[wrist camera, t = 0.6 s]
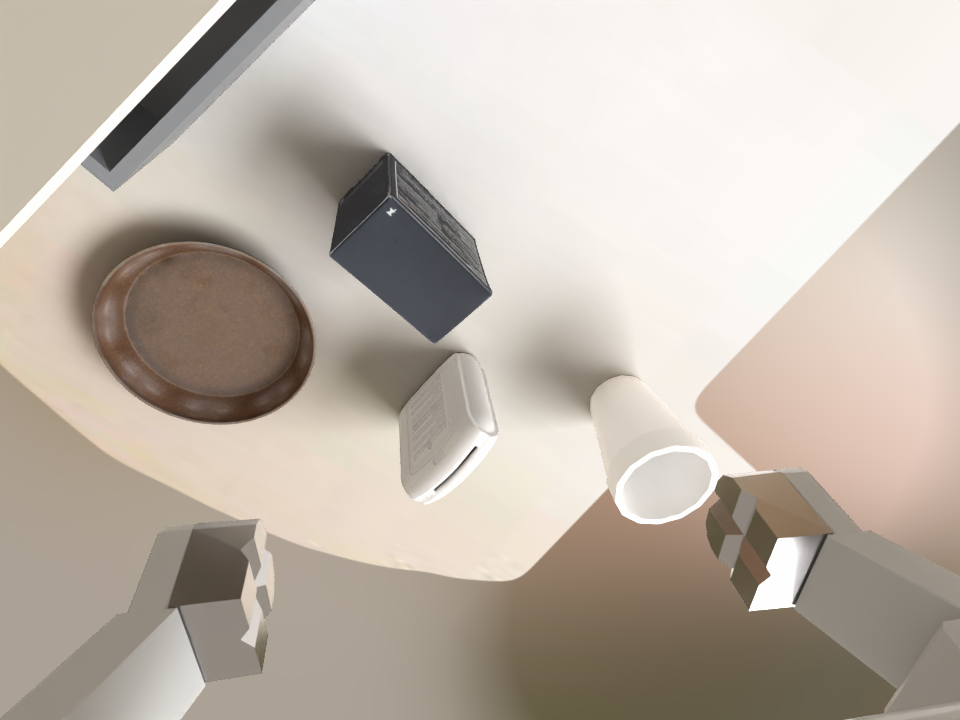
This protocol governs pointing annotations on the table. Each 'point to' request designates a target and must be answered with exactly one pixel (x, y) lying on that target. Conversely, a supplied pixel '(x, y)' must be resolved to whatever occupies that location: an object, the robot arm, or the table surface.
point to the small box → (409, 250)
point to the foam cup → (649, 453)
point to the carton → (191, 86)
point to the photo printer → (446, 429)
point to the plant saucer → (203, 332)
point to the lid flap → (78, 82)
